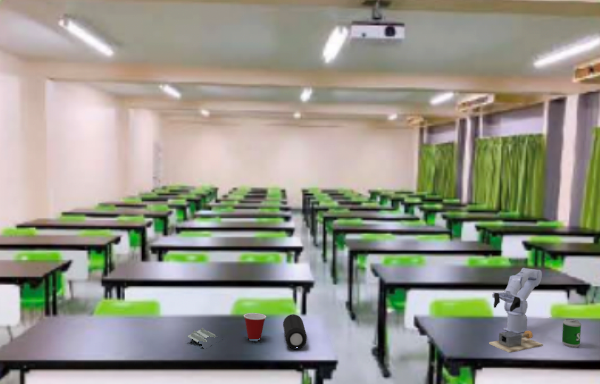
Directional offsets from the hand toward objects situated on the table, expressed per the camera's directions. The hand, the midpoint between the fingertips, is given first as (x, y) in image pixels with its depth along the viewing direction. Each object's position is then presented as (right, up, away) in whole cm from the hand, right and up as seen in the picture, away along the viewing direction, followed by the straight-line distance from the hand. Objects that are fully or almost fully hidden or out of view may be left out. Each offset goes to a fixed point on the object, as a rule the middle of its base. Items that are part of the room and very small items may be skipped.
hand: (502, 308), depth 248 cm
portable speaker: (-100, -15, -4) cm, 101 cm away
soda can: (+31, -17, -3) cm, 36 cm away
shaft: (+7, -15, -3) cm, 16 cm away
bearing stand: (+5, -17, -4) cm, 18 cm away
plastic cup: (-119, -15, -3) cm, 120 cm away
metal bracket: (-142, -15, -7) cm, 143 cm away
